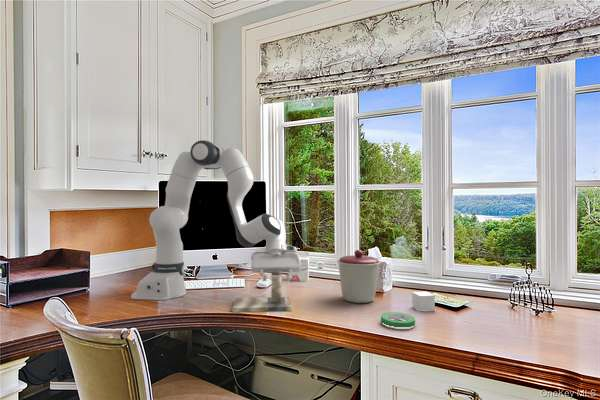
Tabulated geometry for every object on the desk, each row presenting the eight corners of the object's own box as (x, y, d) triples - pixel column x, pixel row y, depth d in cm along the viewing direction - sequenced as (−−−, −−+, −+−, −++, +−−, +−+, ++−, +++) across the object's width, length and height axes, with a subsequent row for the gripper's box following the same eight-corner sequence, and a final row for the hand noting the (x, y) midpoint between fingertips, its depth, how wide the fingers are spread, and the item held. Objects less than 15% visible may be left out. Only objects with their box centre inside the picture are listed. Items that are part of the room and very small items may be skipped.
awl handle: (271, 303, 141) (271, 272, 141) (271, 300, 145) (271, 270, 145) (281, 303, 141) (281, 272, 141) (281, 300, 145) (281, 270, 145)
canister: (362, 292, 164) (362, 246, 164) (389, 302, 148) (389, 251, 148) (328, 297, 156) (328, 248, 156) (353, 308, 140) (354, 254, 140)
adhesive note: (420, 312, 136) (420, 296, 136) (412, 307, 142) (412, 292, 142) (434, 311, 138) (434, 295, 138) (426, 306, 144) (426, 291, 144)
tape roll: (421, 328, 119) (421, 320, 119) (392, 332, 116) (392, 323, 116) (402, 318, 130) (403, 310, 130) (375, 321, 126) (375, 313, 126)
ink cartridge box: (291, 281, 187) (291, 252, 187) (292, 279, 192) (293, 251, 192) (308, 281, 186) (308, 253, 186) (309, 279, 191) (309, 251, 191)
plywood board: (232, 312, 135) (232, 308, 135) (235, 301, 149) (235, 297, 149) (291, 310, 137) (291, 306, 137) (289, 300, 151) (289, 297, 151)
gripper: (251, 247, 150) (249, 275, 140) (300, 247, 152) (302, 275, 142) (251, 256, 155) (250, 284, 145) (299, 256, 156) (301, 284, 147)
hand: (276, 280), depth 143 cm, fingers open, 8 cm apart
